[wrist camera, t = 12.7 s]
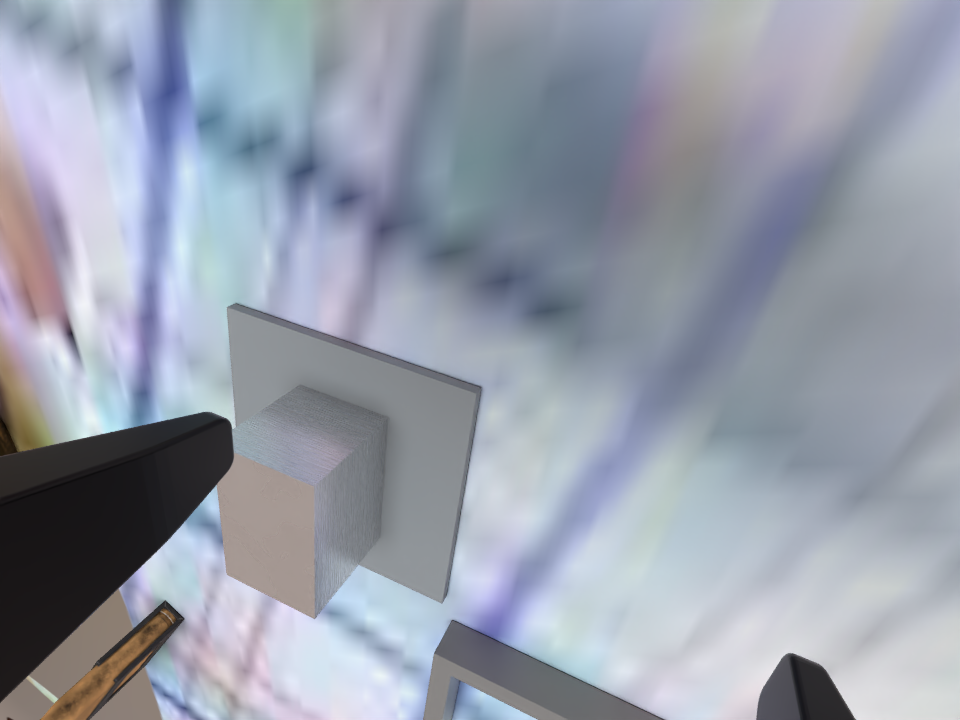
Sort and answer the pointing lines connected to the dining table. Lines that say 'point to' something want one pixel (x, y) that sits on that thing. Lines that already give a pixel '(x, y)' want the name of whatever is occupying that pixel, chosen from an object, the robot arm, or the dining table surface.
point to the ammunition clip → (116, 666)
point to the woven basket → (5, 441)
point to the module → (303, 496)
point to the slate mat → (410, 440)
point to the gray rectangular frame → (514, 682)
